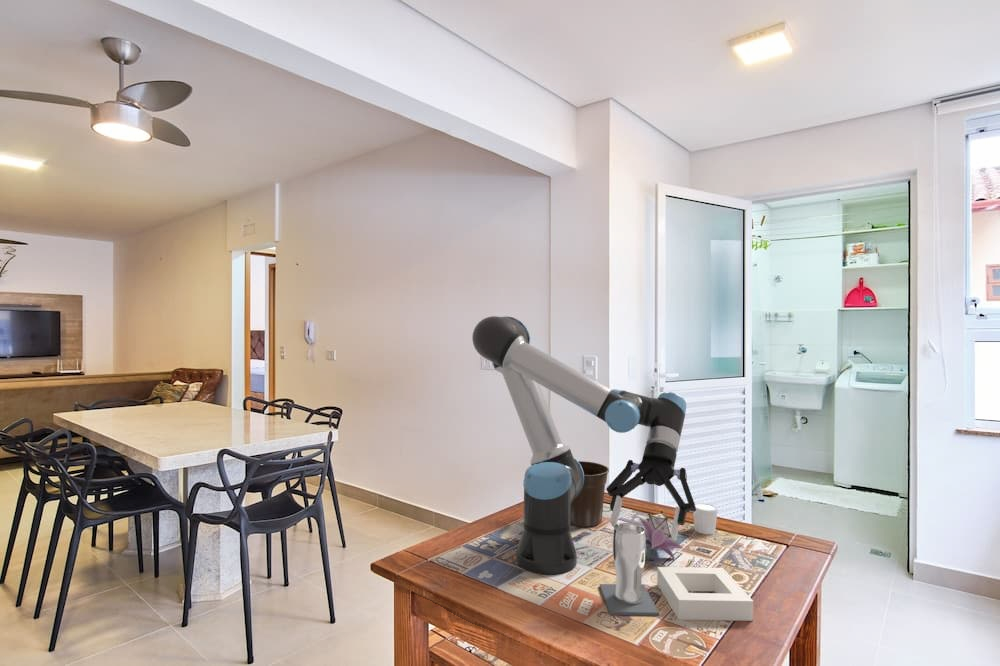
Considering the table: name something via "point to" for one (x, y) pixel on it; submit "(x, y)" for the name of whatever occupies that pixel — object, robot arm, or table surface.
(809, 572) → the table surface
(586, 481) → the plant pot
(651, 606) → the slate coaster
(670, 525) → the game die
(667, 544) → the lily
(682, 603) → the board
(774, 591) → the table surface
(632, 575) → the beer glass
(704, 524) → the white short tapered cylinder
